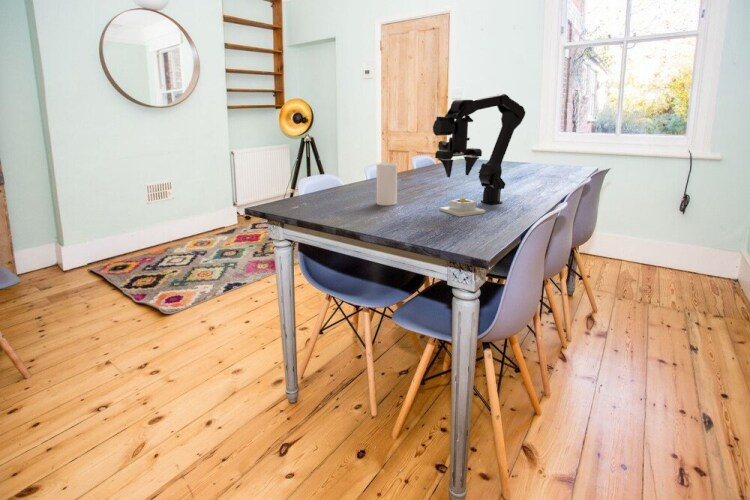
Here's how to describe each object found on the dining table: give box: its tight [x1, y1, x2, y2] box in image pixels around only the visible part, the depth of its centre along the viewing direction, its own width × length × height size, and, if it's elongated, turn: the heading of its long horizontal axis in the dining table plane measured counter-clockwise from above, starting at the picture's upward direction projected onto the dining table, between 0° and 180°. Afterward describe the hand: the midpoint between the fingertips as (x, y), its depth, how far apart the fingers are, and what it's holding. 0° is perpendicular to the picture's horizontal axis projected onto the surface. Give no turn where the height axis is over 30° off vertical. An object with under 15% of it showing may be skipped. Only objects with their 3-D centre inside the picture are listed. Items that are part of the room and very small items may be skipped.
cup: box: [376, 162, 398, 206], centre depth 184 cm, size 8×8×16 cm
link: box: [448, 198, 477, 212], centre depth 171 cm, size 7×7×3 cm
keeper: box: [439, 197, 486, 218], centre depth 171 cm, size 12×12×5 cm
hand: (457, 176), depth 177 cm, fingers open, 9 cm apart
